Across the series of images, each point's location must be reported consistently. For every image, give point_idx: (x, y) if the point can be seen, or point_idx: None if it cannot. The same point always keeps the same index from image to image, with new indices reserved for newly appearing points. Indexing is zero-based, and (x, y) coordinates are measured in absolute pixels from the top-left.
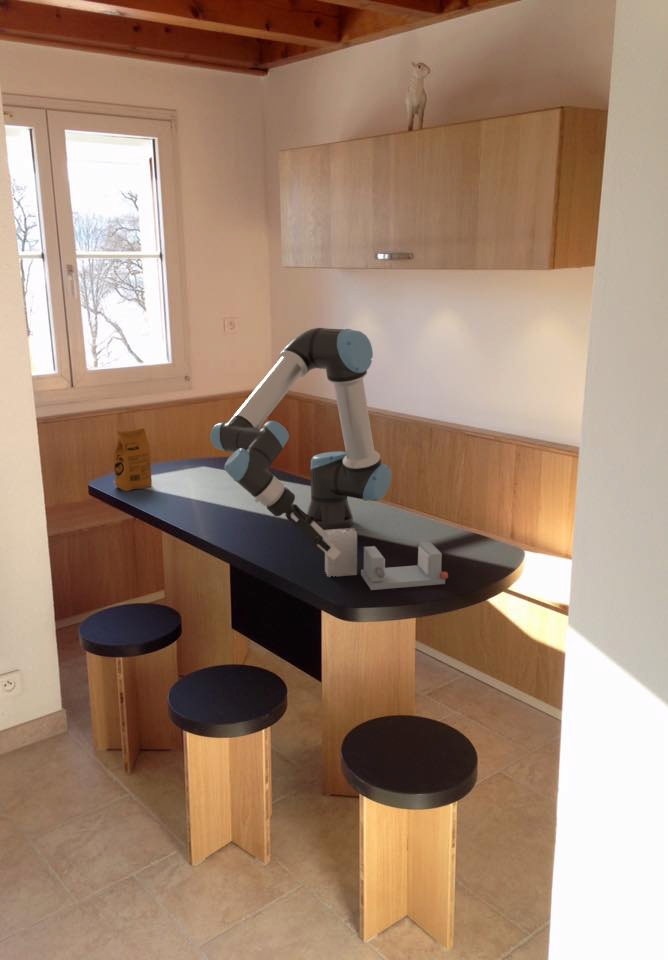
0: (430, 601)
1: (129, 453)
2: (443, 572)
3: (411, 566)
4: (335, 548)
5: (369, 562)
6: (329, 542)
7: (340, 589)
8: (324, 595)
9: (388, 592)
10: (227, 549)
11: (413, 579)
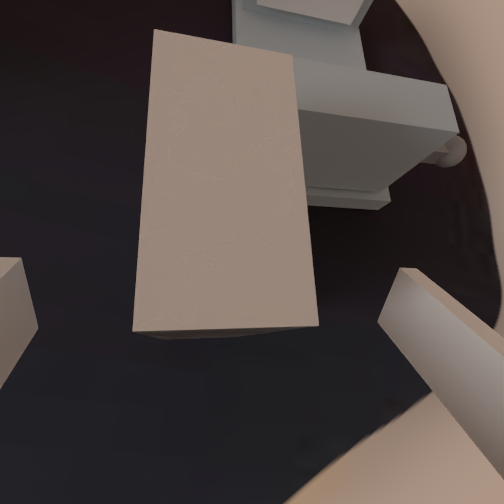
0: (451, 96)
1: None
2: None
3: (242, 28)
4: (452, 299)
5: (381, 152)
6: (501, 346)
7: (366, 310)
8: (418, 384)
9: None
10: None
11: None
